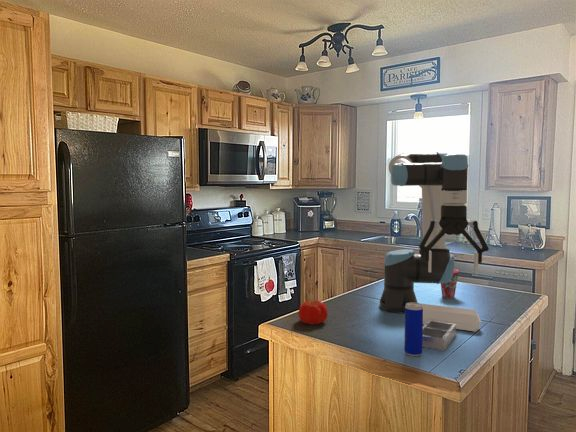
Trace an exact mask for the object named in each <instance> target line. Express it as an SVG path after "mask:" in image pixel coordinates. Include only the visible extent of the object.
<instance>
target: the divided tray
mask: <svg viewBox="0 0 576 432" xmlns="http://www.w3.org/2000/svg"><path fill="white" fill-rule="evenodd" d="M456 335H457V329H456V324H452V323H446V322H440V321H433V320H428V321H427V322H426V324H425V325H423V338H422V348H427V349H431V350H437V351H440V352H441V351H442V352H445V351H446V349H448V347H449V345H450V344H451V343H452V340H454V338H455V337H456Z"/></svg>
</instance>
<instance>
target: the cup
mask: <svg viewBox="0 0 576 432" xmlns="http://www.w3.org/2000/svg"><path fill="white" fill-rule="evenodd" d="M459 273H460V270H459V269H458V268H454V271H453V276H452V279H451V281H450V282H449V283H440V288H441V297H442V298H444V299H455V296H456V291H457V290H456V289H457V284H458V277H459Z"/></svg>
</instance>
